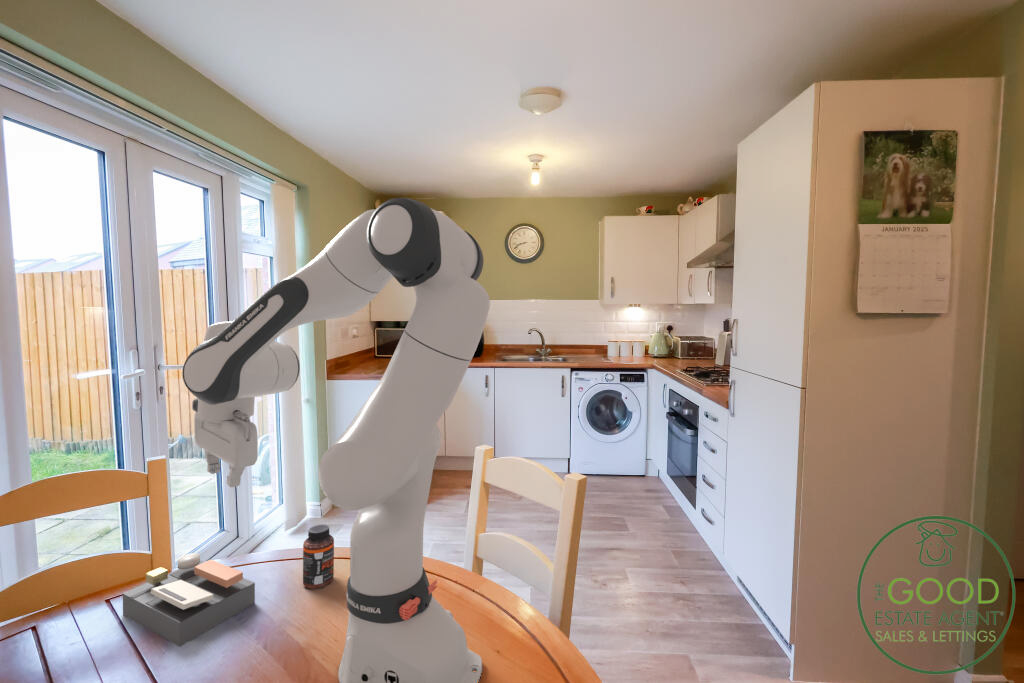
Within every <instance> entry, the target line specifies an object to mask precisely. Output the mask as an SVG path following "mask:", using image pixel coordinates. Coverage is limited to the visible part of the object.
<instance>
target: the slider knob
mask: <svg viewBox="0 0 1024 683" xmlns="http://www.w3.org/2000/svg"><path fill="white" fill-rule="evenodd" d="M168 573H169V570H168V569H166V568H164V567H161V566H159V567H158V568H155V569H152V570H149V571H148V572H146V573H145V583H150V584H152V585H154V586H158V585H160V584H161V581H163V580H166V579H168Z"/></svg>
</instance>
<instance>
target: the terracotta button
mask: <svg viewBox="0 0 1024 683" xmlns="http://www.w3.org/2000/svg"><path fill="white" fill-rule="evenodd" d="M203 562H204V563H202V564H199V565H197V566H195V567H194V574H195V575H198V576H200V577H202V578H205V579H207V580H209V581H212V582H214V583H216V584H219V585H221V586H223V587H226V588H227V587H229V586H231V585H233V584H235V583H237V582H239V581H241V580H243V578H244V576H243V575H244V572H243V571H241V570H238V569H235V568H233V567H231V566H228V565H226V564H223V563H220V562H218V561H215V560H213V559H209V560H207V561H203Z"/></svg>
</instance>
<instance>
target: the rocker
mask: <svg viewBox="0 0 1024 683" xmlns="http://www.w3.org/2000/svg"><path fill="white" fill-rule="evenodd" d="M151 594H153V595H155V596H157V597H159V598H161V599H163V600H165V601H167V602H169V603H171V604H173V605H175V606H177V607H179V608H181V609H183V610H184V609H186V608H189V607H192V606H193V607H197V606H200V603H203V602H206V601H209V600H212V599H213V594H212V593H209V592H207V591H205V590H203V589H201V588H198V587H196V586H194V585H192V584H189V583H187V582H185V581H183V580H178V581H175V582H172V583H168V584H165V585H162V586H159V587H155V588H152V589H151Z"/></svg>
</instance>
